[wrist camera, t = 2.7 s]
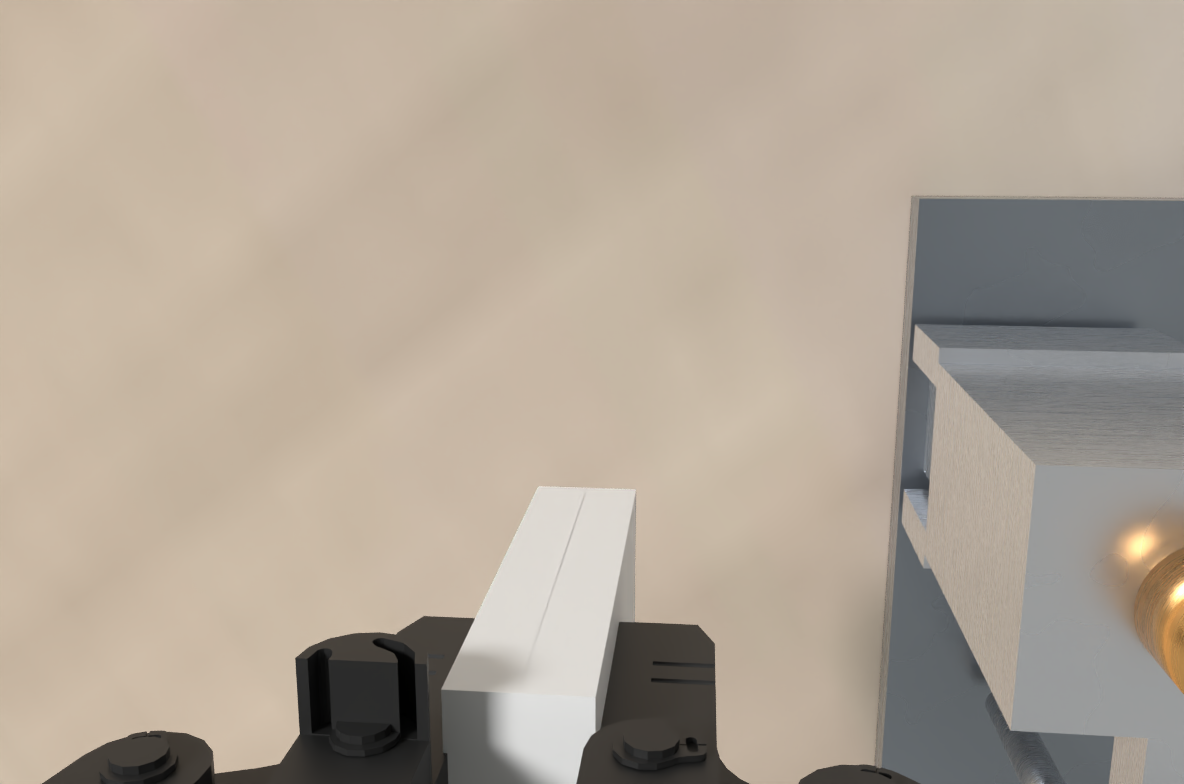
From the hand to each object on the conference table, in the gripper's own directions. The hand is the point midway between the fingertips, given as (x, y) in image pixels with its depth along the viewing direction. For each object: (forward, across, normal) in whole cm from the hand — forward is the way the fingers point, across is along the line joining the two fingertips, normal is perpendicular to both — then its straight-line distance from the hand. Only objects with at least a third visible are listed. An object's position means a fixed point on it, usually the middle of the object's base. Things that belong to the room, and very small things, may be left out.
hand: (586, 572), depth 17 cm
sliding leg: (+9, +9, -2) cm, 13 cm away
